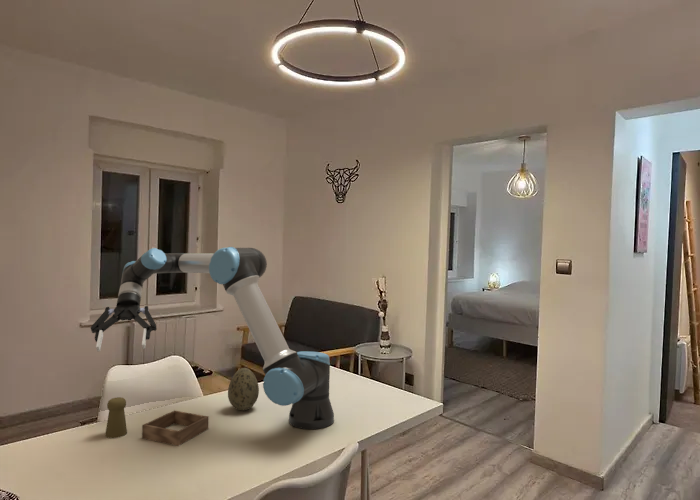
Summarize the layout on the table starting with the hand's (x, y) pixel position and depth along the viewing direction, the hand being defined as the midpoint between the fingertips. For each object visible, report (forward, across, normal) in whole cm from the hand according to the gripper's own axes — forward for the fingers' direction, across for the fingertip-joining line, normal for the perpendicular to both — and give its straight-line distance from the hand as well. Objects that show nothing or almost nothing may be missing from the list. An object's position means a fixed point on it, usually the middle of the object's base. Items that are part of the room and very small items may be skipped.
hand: (121, 348), depth 150 cm
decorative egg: (+16, -40, -19) cm, 47 cm away
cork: (+25, -1, -10) cm, 27 cm away
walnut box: (+28, -18, -7) cm, 34 cm away
